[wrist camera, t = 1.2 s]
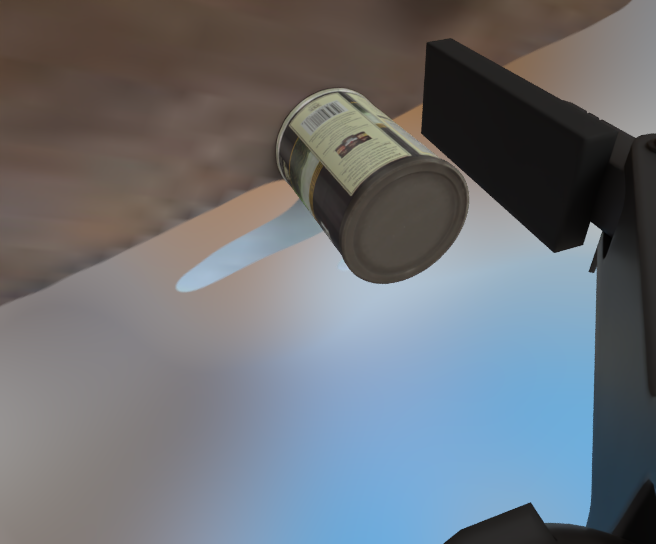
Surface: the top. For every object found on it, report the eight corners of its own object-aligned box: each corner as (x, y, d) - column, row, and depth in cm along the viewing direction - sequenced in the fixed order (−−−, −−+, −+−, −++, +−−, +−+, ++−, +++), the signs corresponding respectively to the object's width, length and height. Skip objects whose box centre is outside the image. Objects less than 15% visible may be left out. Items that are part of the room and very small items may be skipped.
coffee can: (336, 210, 53) (407, 299, 43) (252, 166, 46) (314, 259, 36) (401, 123, 50) (494, 197, 40) (322, 62, 43) (410, 133, 33)
